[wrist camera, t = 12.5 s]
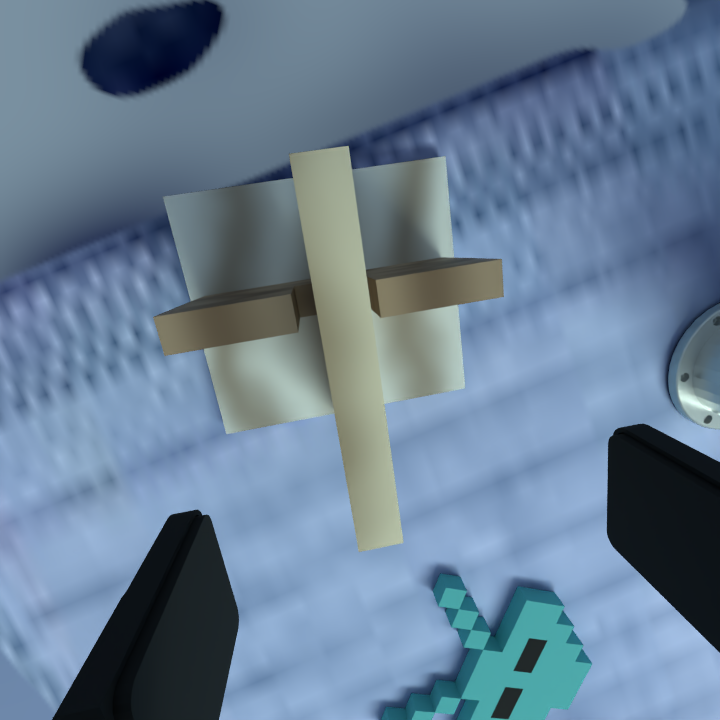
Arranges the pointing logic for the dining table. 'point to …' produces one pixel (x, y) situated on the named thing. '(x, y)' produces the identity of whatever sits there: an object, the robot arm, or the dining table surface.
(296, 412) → the cross base
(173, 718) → the robot arm
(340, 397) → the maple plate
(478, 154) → the dining table surface
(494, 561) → the dining table surface
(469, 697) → the alien figure
